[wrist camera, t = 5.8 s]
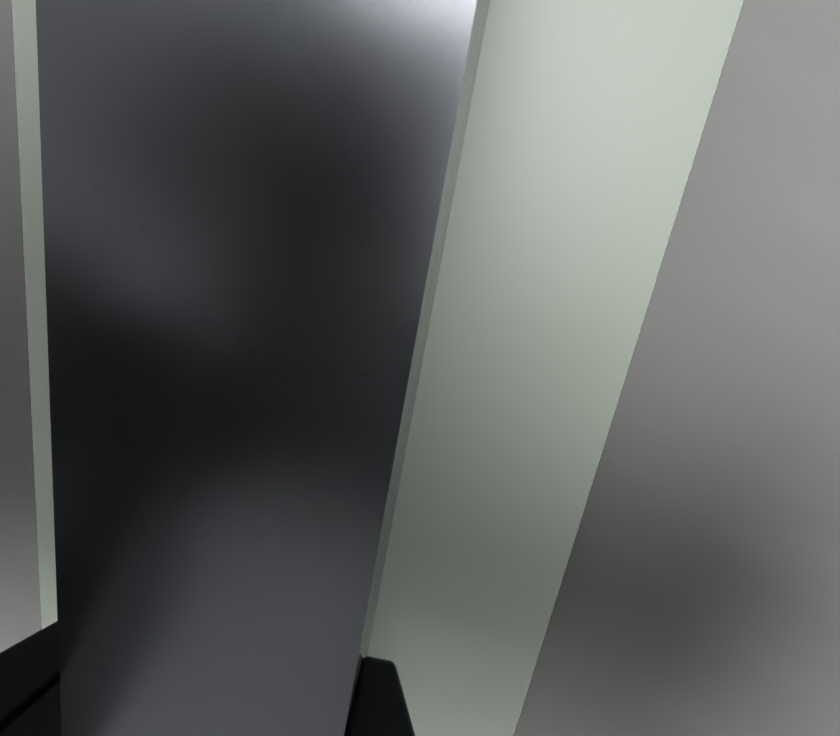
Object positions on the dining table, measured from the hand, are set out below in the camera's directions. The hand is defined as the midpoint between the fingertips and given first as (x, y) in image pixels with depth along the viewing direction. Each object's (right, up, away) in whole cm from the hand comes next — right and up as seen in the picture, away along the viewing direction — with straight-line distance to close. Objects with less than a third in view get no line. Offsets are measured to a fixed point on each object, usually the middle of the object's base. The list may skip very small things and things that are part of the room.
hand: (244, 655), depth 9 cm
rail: (0, +1, +1) cm, 2 cm away
